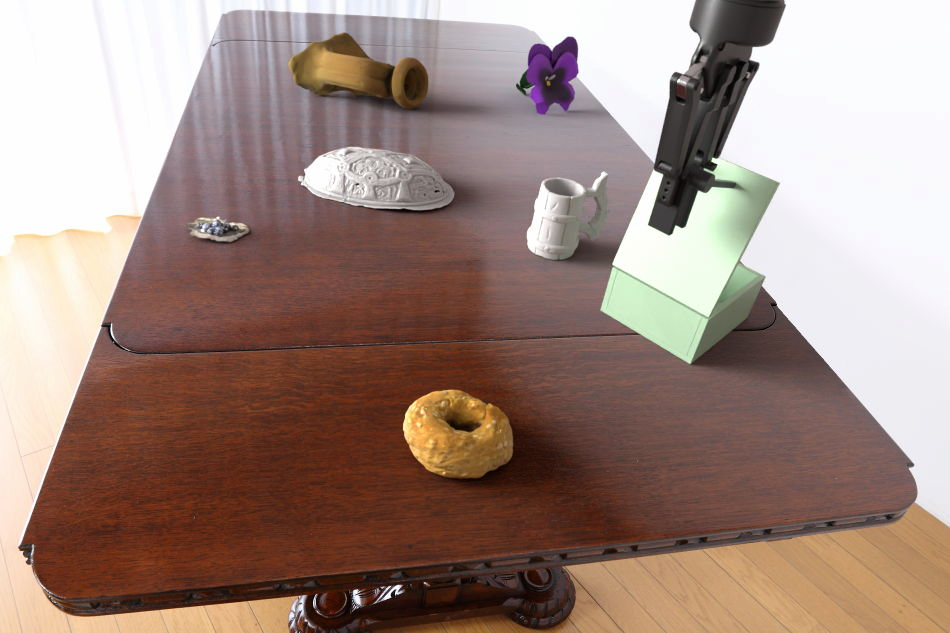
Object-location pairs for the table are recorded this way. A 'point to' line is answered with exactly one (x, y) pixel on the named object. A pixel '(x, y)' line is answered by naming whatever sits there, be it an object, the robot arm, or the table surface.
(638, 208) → the lunchbox lid
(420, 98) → the brown looped sculpture
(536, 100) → the flower
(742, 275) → the box
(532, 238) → the mug
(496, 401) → the table surface
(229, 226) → the blueberries
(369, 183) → the ornate oval dome
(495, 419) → the bagel
